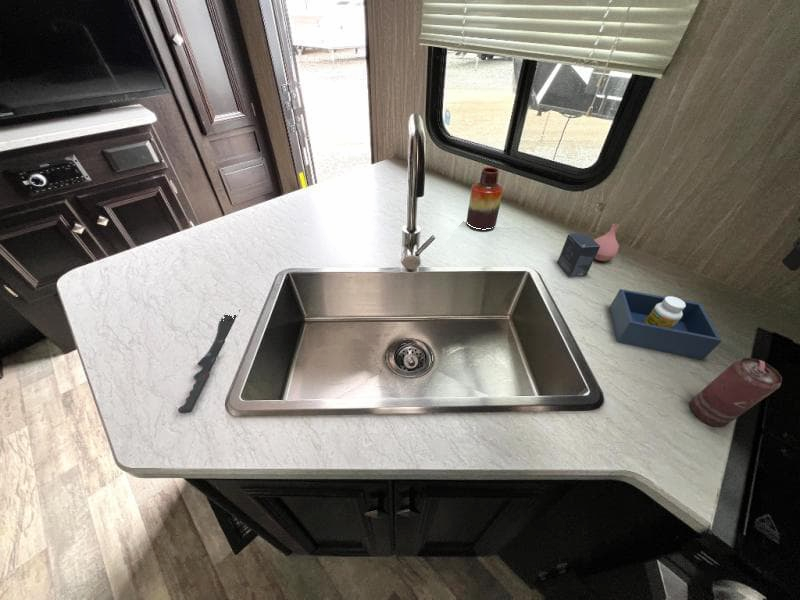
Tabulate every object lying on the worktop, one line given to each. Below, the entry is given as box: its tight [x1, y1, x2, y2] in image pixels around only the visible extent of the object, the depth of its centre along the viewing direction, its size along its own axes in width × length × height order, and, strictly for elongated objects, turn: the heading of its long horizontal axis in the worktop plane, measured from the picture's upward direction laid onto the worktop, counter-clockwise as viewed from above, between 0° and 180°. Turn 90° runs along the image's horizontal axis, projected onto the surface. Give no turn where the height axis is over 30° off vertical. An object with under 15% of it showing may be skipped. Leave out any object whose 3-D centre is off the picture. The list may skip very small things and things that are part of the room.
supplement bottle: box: [643, 295, 686, 329], centre depth 75 cm, size 5×5×10 cm
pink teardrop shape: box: [593, 223, 620, 262], centre depth 99 cm, size 8×8×12 cm
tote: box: [608, 288, 723, 361], centre depth 76 cm, size 18×13×7 cm
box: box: [557, 232, 600, 278], centre depth 95 cm, size 8×6×11 cm
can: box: [690, 357, 783, 427], centre depth 58 cm, size 6×6×14 cm
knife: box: [177, 309, 241, 413], centre depth 74 cm, size 32×4×1 cm, turn 2°
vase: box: [465, 166, 504, 233], centre depth 113 cm, size 11×11×20 cm
